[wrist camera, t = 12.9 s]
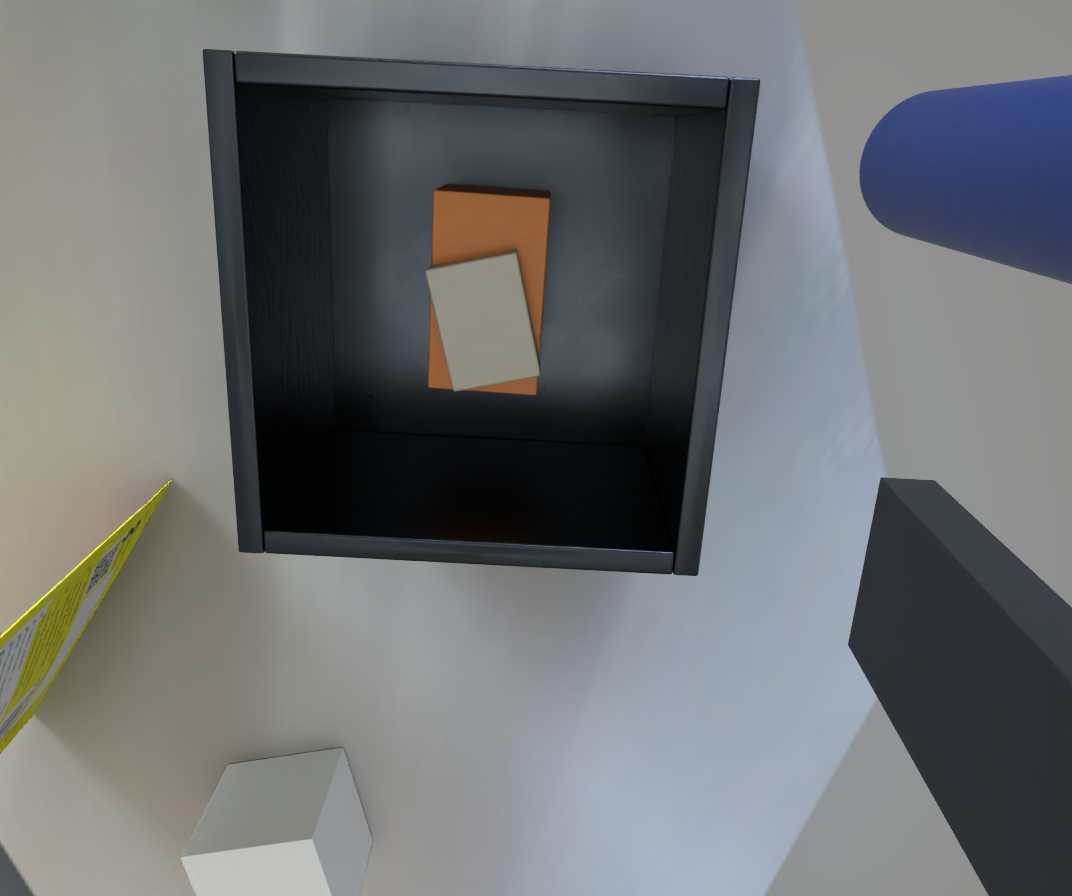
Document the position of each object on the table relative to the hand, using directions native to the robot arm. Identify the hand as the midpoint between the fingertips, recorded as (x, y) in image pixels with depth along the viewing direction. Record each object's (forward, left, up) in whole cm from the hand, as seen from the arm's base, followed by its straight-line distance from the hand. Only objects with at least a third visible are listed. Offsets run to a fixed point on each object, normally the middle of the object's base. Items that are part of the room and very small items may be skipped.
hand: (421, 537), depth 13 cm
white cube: (+9, +27, -24) cm, 38 cm away
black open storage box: (0, 0, -24) cm, 24 cm away
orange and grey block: (0, 0, -23) cm, 23 cm away
